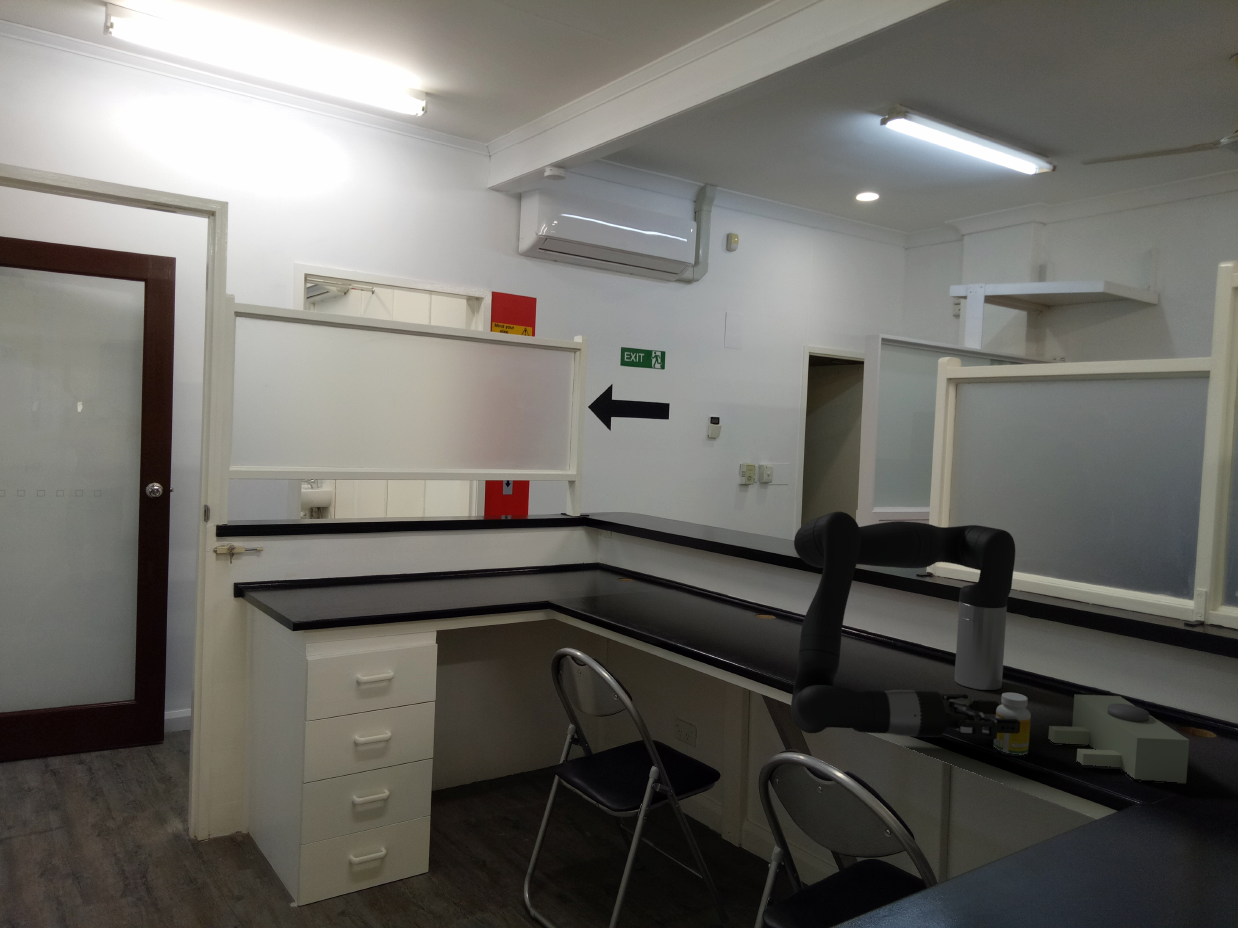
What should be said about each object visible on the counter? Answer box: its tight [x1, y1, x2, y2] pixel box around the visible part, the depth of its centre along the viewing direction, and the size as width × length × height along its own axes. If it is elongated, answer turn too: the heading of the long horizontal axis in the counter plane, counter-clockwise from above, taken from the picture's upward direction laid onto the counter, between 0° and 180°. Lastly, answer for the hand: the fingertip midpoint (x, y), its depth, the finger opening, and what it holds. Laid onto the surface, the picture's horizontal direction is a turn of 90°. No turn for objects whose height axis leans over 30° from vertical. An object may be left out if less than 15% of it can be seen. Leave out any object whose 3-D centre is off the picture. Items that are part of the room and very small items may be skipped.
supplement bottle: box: [993, 692, 1032, 755], centre depth 145 cm, size 5×5×10 cm
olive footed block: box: [1047, 694, 1190, 784], centre depth 145 cm, size 20×14×8 cm
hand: (1008, 716), depth 145 cm, fingers open, 8 cm apart
